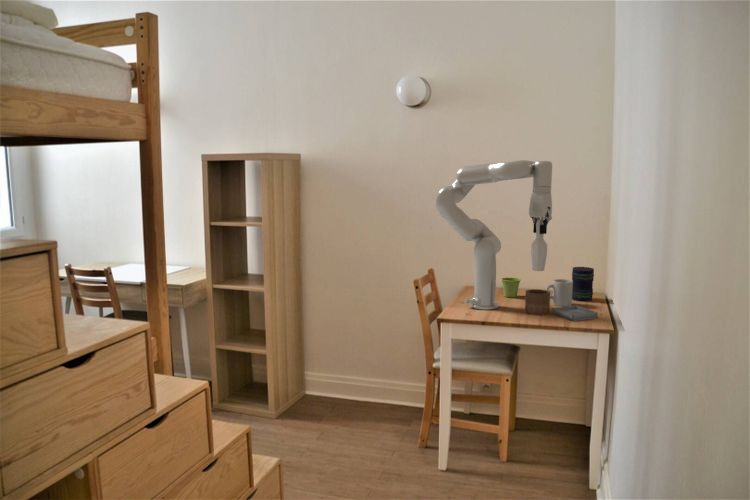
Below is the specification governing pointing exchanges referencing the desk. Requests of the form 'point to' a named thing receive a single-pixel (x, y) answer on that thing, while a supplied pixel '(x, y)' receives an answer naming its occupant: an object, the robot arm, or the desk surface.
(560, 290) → the mug
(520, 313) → the desk surface
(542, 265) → the faceted bottle
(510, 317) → the desk surface
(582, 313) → the tray
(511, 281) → the plant pot
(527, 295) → the holder
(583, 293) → the storage jar
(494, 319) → the desk surface
